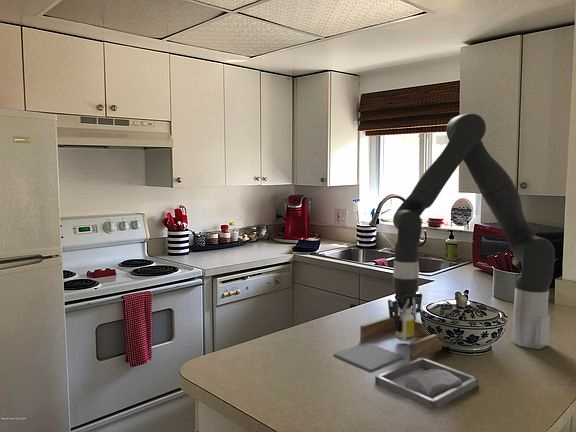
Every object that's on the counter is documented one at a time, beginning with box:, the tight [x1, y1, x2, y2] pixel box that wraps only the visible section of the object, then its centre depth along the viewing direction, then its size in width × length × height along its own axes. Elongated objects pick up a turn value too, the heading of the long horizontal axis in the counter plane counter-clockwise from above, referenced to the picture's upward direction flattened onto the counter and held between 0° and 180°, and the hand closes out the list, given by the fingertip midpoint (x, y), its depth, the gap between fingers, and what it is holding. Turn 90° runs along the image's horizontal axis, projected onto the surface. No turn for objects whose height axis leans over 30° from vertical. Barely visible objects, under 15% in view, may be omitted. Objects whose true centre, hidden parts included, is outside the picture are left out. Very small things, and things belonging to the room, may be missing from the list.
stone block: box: [404, 369, 463, 399], centre depth 122 cm, size 12×5×10 cm
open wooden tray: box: [359, 315, 443, 362], centre depth 151 cm, size 20×17×5 cm
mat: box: [333, 341, 405, 373], centre depth 142 cm, size 14×14×1 cm
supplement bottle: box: [395, 308, 415, 342], centre depth 151 cm, size 5×5×10 cm
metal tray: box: [374, 357, 479, 411], centre depth 124 cm, size 17×19×2 cm
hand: (404, 329), depth 151 cm, fingers closed on supplement bottle, 5 cm apart
